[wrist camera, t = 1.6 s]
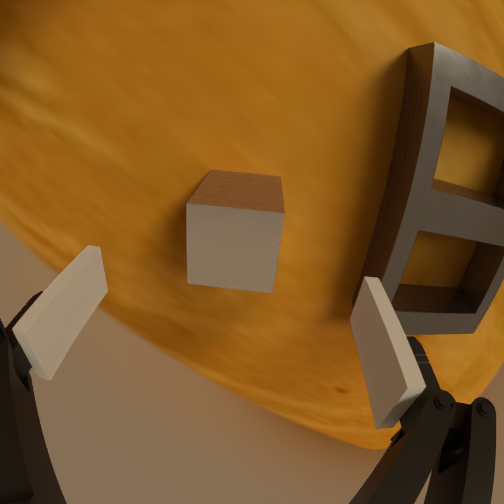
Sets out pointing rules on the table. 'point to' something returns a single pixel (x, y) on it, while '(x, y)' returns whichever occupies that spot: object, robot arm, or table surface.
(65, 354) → the robot arm
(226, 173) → the brushed gray brick
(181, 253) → the table surface
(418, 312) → the grey compartment tray
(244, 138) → the table surface
